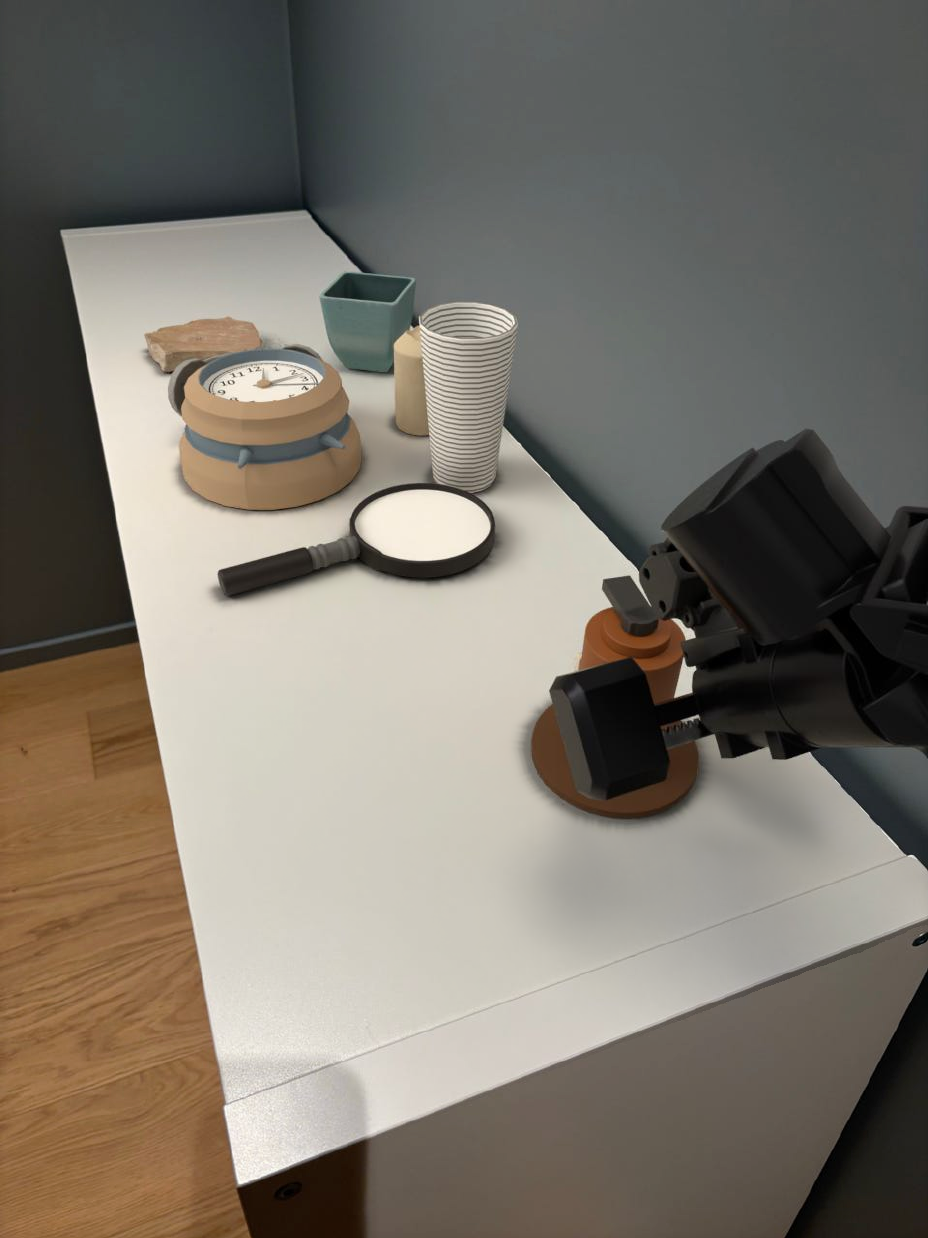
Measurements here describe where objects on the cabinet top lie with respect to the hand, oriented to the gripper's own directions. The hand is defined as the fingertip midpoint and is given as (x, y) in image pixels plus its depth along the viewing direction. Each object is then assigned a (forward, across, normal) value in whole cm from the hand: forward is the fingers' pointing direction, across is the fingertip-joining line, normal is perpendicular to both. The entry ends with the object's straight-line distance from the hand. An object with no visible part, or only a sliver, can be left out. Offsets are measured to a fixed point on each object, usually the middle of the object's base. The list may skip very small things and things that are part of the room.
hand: (653, 698), depth 55 cm
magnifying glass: (+26, +9, -16) cm, 32 cm away
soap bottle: (+7, 0, +3) cm, 7 cm away
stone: (+57, +13, -47) cm, 75 cm away
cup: (+33, -4, -22) cm, 40 cm away
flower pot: (+52, -4, -42) cm, 67 cm away
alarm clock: (+41, +12, -31) cm, 53 cm away
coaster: (+7, 0, +3) cm, 8 cm away
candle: (+41, -4, -30) cm, 51 cm away
